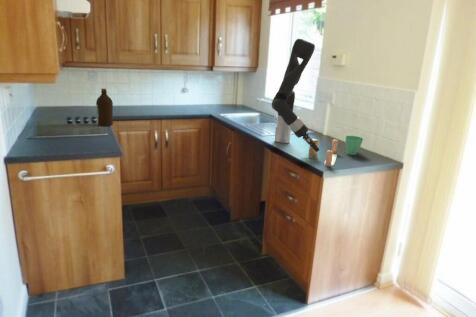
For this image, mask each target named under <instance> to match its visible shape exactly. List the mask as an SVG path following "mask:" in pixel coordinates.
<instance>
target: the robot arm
mask: <svg viewBox="0 0 476 317" xmlns="http://www.w3.org/2000/svg"><path fill="white" fill-rule="evenodd" d="M315 50H316V44H314V43H313V42H311V41H308V40H305V39H303V38H297V39H296V40H295V41H294V43H293V45H292V48H291V51H290V56H289V60H288V63H287V66H286V69H285V72H284V76H283V80H282V81H281V83H280V86H279V88H278V90H277V92H276V94H275V96H274V98H273V99H272V101H271V107H272V109H273V110H274V111H275V112H276V113H277V120H276V121H277V122H276V127H275V133H274V134H275V135H274V142H276V143H281V144H289V143H291V142H290V141H291V132H292V133H293V134H294V135H295V137H297V138H302V140H303V141H304V142H306V144H307V145H309V146H311V147H312V148H313V149H314V150H315V151H316V152H318V153H319V151H320V148H319V147H317V146H316V145H315V143H314V142H313V140H312V139H313V138H312V137H311V135H310V134H309V133H308V131H309V128H308V127H307V125H306V124H305V123H304V122H303V120H301V119H300V117H298V115H297V114H296V113H295V112H294V107H295V106H294V104H295V99H296V93H295V91H294V88H295V86H296V85H298V84H299V82H300V80H301V78H302V77H301V76H302V74H303V72H304V71H305V69H306V67H307V65H308V63H309V62H310V59H311V58H312V57H313V54H314V52H315ZM298 58H299V59H301V60H302V61H301V62H300V61H299V59H298ZM311 143H313V144H312V145H311Z"/></svg>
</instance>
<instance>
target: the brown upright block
mask: <svg viewBox="0 0 476 317" xmlns="http://www.w3.org/2000/svg"><path fill="white" fill-rule="evenodd" d="M312 140H313V142H314V143H315V145H316V146H317V147H318V148H319V145H320V139H316V138H312ZM312 144H313V143H311V145H312ZM308 148H309V149H308V156H307V157H308V158H310V159H318V154H319V151H318V152H316V151H315V150H314V149H313V148H312V147H311V146H310V145H309V147H308Z"/></svg>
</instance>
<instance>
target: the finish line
mask: <svg viewBox="0 0 476 317" xmlns="http://www.w3.org/2000/svg"><path fill="white" fill-rule="evenodd" d="M338 144H339V140H338V139H332V144H331V150H330V149H329V150H327V151H326V156H325V161H324V163H323V165H324V166H325V167H328V168H329V167H332V166H334V165H335V162H336V160H337V157H338V154H337V151H338Z"/></svg>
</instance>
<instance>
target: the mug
mask: <svg viewBox="0 0 476 317" xmlns="http://www.w3.org/2000/svg"><path fill="white" fill-rule="evenodd" d="M363 141H364V138H363V137H361V136H356V135H346V136H345V148H346V149H345V150H346V152H347V155H349V156H355V155H357V154H358V152H359V150H360V148H361V146H362V143H363Z"/></svg>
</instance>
